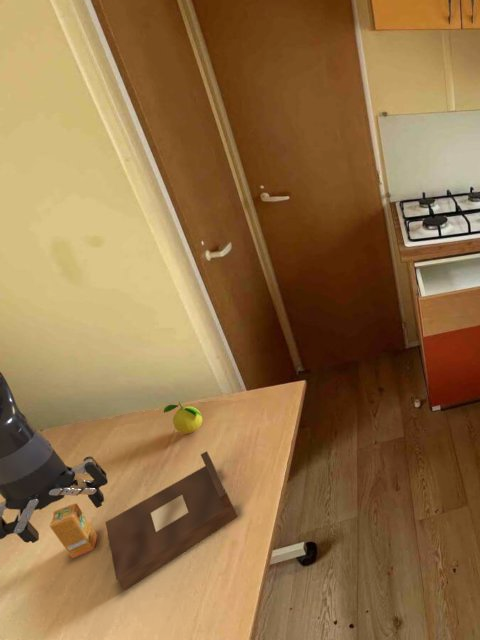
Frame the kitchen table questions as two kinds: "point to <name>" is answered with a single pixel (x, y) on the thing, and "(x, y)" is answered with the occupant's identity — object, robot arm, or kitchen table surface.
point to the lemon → (185, 418)
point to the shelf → (168, 524)
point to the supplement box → (73, 530)
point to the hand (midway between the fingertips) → (68, 520)
